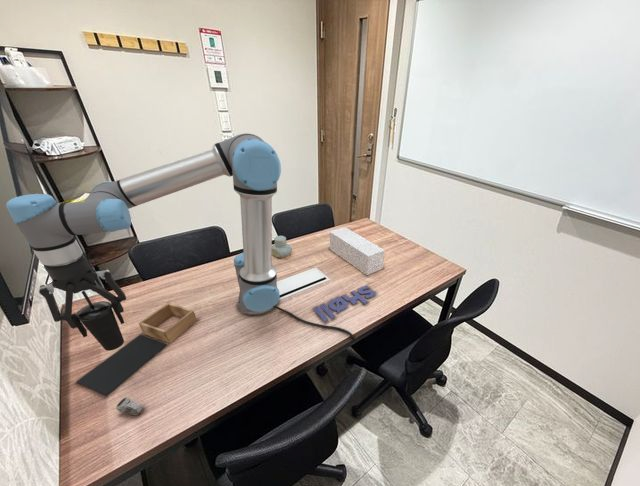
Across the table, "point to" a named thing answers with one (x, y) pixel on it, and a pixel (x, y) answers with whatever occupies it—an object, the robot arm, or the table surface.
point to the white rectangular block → (357, 250)
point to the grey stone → (128, 402)
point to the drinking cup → (101, 323)
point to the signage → (343, 302)
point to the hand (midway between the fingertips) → (104, 327)
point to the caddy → (160, 315)
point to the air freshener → (281, 247)
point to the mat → (121, 365)
